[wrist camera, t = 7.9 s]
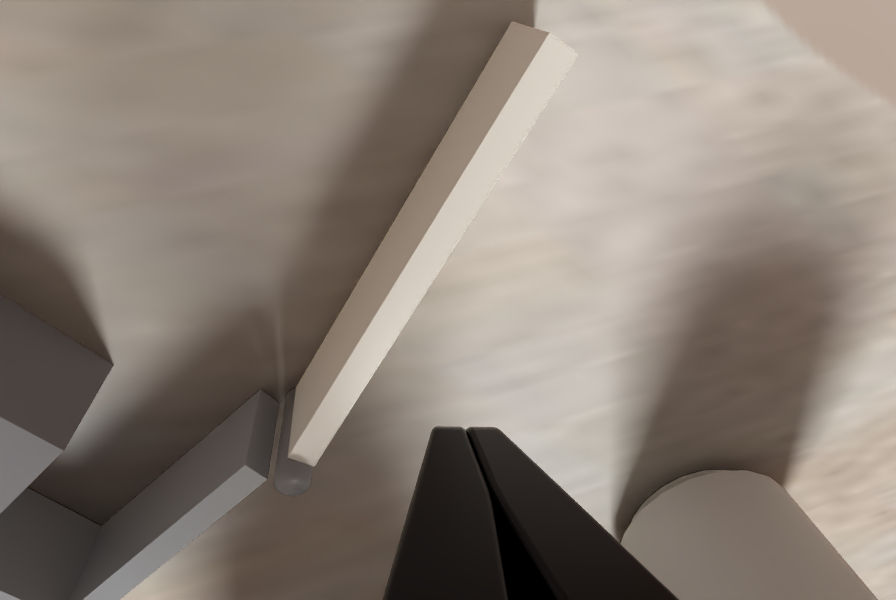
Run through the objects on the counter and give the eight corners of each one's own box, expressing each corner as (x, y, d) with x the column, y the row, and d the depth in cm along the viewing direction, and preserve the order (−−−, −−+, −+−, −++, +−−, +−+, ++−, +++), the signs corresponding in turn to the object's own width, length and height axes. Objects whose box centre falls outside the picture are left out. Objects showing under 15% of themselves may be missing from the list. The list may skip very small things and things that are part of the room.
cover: (308, 415, 21) (301, 500, 17) (280, 405, 20) (267, 489, 17) (537, 39, 16) (587, 58, 13) (507, 18, 16) (549, 31, 13)
